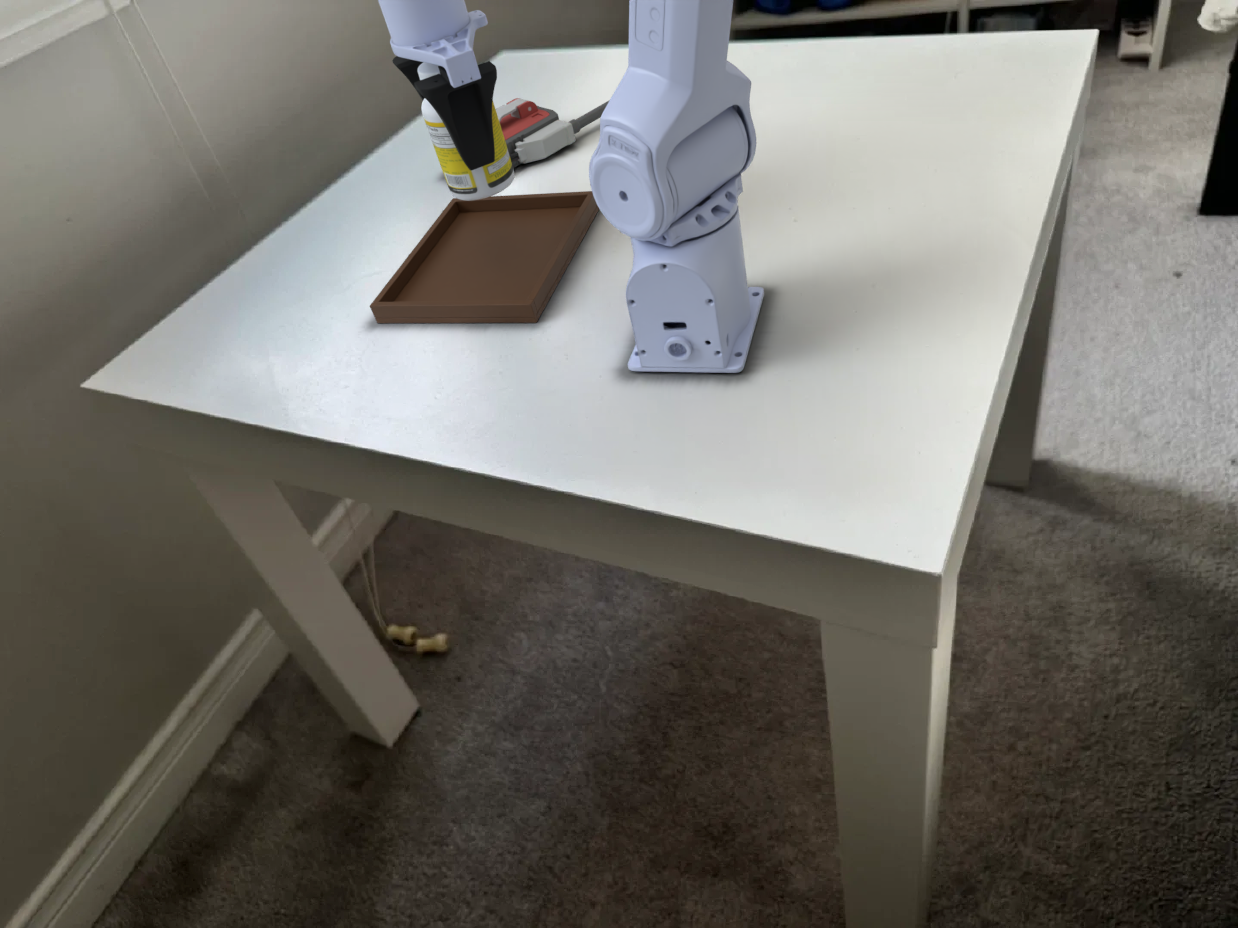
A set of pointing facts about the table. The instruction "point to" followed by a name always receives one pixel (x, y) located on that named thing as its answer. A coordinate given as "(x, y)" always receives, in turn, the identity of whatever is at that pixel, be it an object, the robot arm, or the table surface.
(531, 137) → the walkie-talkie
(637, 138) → the robot arm
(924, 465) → the table surface
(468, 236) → the tray
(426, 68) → the supplement bottle
